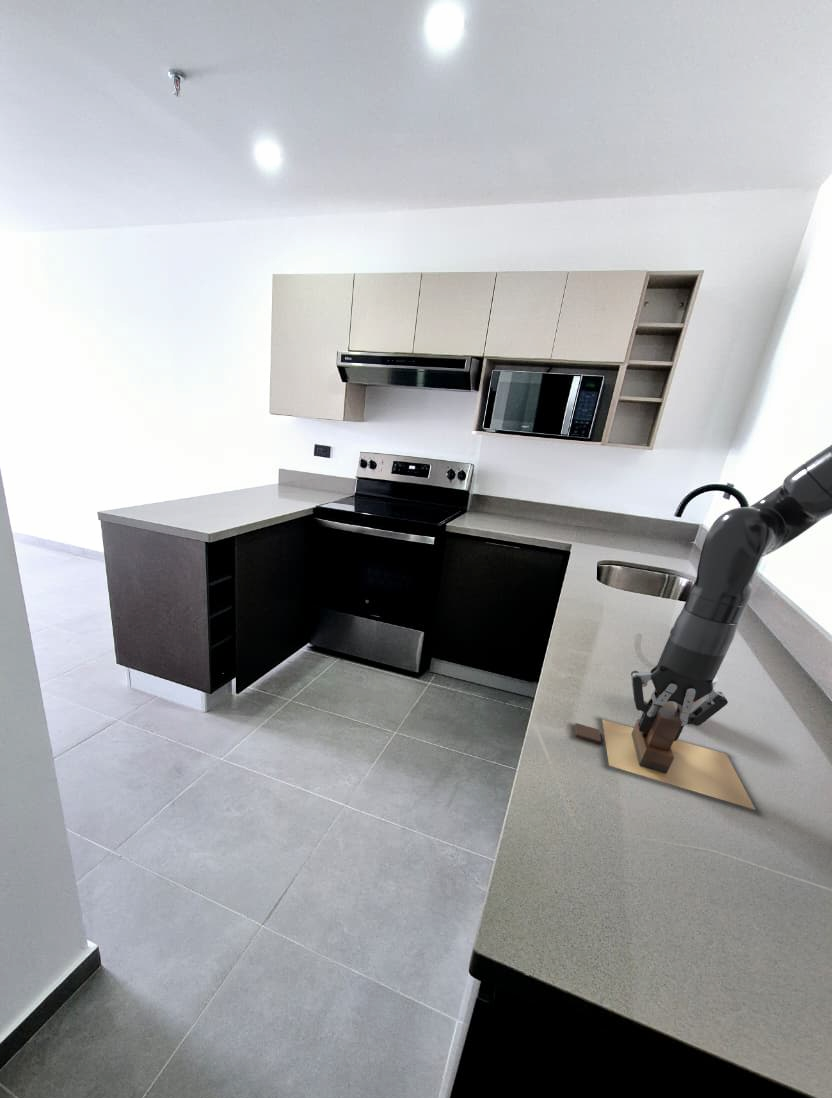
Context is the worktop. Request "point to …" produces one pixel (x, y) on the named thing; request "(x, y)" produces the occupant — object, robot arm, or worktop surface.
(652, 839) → the worktop surface
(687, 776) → the board
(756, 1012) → the worktop surface
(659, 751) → the stepped wooden block
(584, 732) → the small brown wooden tile
